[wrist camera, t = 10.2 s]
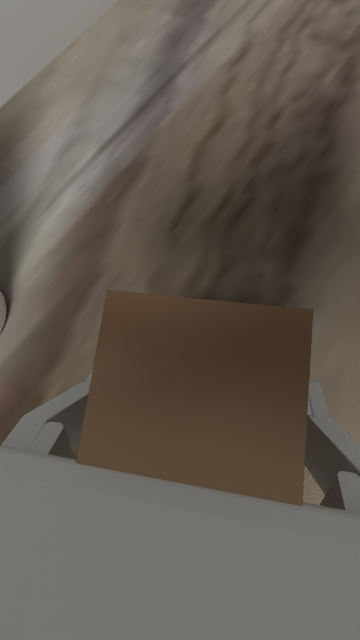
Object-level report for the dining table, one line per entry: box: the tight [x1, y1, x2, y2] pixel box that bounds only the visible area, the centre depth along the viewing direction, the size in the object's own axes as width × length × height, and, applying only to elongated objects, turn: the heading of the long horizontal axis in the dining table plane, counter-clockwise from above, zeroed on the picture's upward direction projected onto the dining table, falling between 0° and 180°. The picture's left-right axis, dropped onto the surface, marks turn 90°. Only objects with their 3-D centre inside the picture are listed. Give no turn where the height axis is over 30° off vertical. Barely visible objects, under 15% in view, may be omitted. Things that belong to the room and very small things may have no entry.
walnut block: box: [76, 290, 313, 506], centre depth 12 cm, size 5×5×10 cm
